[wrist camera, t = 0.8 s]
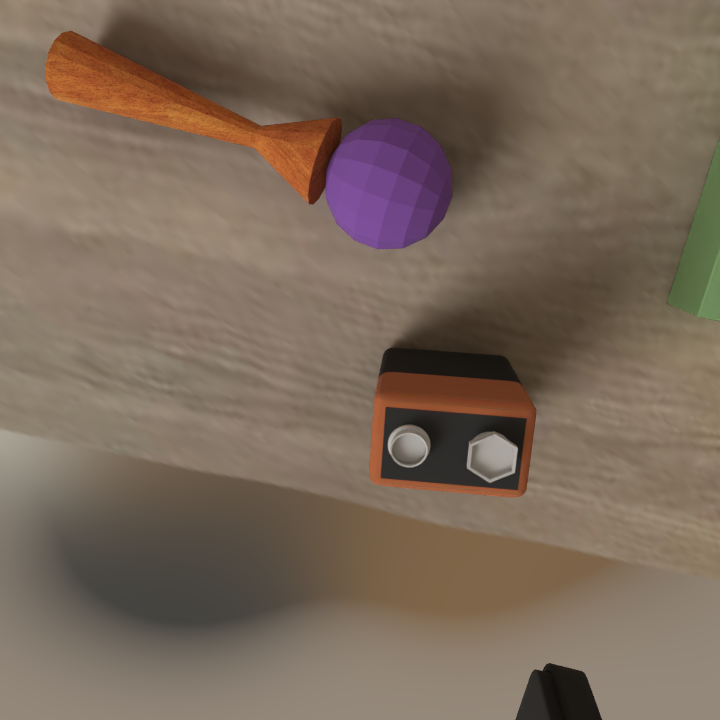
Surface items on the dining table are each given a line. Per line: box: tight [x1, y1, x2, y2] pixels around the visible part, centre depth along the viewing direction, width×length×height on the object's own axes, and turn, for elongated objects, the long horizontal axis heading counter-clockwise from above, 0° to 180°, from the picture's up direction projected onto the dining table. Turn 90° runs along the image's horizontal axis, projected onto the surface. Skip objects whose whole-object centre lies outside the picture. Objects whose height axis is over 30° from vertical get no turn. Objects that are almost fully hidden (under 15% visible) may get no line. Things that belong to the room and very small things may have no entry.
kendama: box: [45, 31, 452, 249], centre depth 32 cm, size 6×6×20 cm
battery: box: [369, 348, 536, 497], centre depth 32 cm, size 4×7×10 cm, turn 86°
